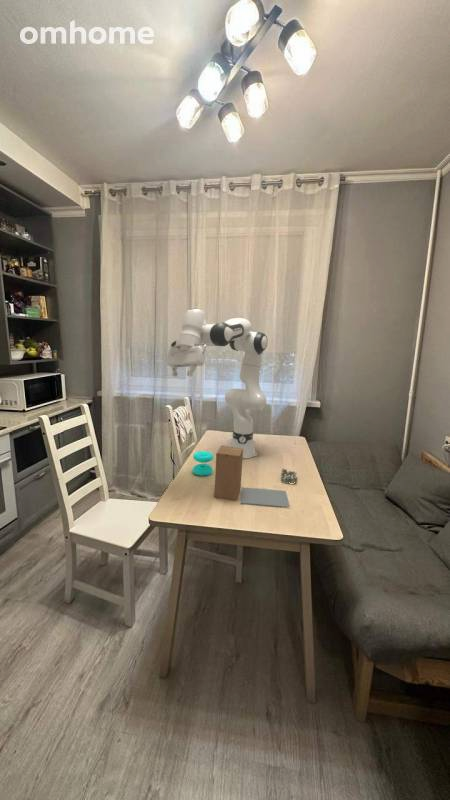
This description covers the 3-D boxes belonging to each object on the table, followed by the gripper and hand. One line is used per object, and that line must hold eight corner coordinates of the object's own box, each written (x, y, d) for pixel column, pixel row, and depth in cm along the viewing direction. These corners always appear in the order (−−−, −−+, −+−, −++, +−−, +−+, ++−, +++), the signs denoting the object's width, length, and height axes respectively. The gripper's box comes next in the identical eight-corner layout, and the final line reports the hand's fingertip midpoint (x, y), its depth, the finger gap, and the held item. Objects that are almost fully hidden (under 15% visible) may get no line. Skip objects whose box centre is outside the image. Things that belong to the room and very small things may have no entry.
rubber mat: (241, 488, 141) (241, 487, 141) (285, 492, 140) (285, 490, 140) (240, 503, 127) (240, 502, 127) (289, 508, 126) (289, 506, 126)
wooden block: (236, 500, 130) (239, 455, 126) (213, 497, 132) (216, 452, 128) (240, 490, 139) (243, 447, 136) (218, 487, 141) (221, 445, 138)
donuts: (193, 457, 149) (192, 450, 158) (193, 476, 150) (192, 468, 160) (214, 457, 150) (212, 450, 160) (213, 476, 152) (211, 468, 162)
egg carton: (281, 474, 159) (282, 467, 159) (296, 477, 157) (297, 469, 157) (279, 483, 149) (280, 475, 148) (295, 485, 147) (296, 477, 147)
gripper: (211, 345, 126) (204, 378, 124) (178, 349, 139) (171, 378, 137) (201, 339, 121) (193, 373, 119) (167, 343, 135) (160, 374, 132)
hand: (181, 376), depth 128 cm, fingers open, 8 cm apart
